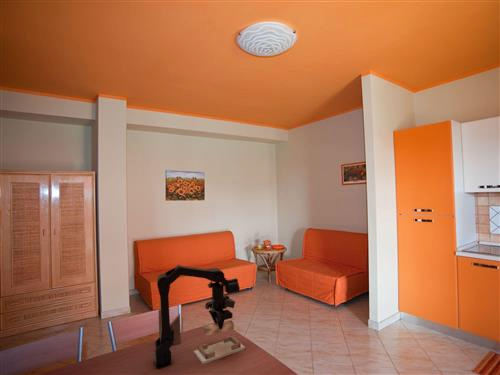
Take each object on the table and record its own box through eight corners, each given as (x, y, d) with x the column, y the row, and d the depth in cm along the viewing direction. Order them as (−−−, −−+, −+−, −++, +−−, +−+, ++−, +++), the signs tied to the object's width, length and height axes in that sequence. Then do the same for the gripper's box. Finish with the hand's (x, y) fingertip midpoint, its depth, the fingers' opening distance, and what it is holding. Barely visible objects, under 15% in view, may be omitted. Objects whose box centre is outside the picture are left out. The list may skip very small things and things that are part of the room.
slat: (205, 335, 138) (205, 329, 138) (203, 332, 141) (203, 326, 141) (233, 329, 143) (233, 322, 143) (231, 326, 146) (231, 320, 146)
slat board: (202, 364, 131) (202, 357, 131) (193, 352, 141) (193, 346, 141) (244, 349, 143) (244, 342, 143) (234, 339, 152) (234, 333, 152)
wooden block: (179, 344, 149) (178, 308, 150) (158, 345, 148) (157, 310, 149) (180, 340, 153) (179, 305, 153) (159, 342, 152) (158, 307, 152)
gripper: (241, 297, 138) (242, 330, 138) (224, 286, 154) (225, 316, 154) (220, 302, 133) (221, 337, 132) (204, 291, 148) (205, 322, 148)
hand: (218, 327), depth 142 cm, fingers closed on slat, 4 cm apart
